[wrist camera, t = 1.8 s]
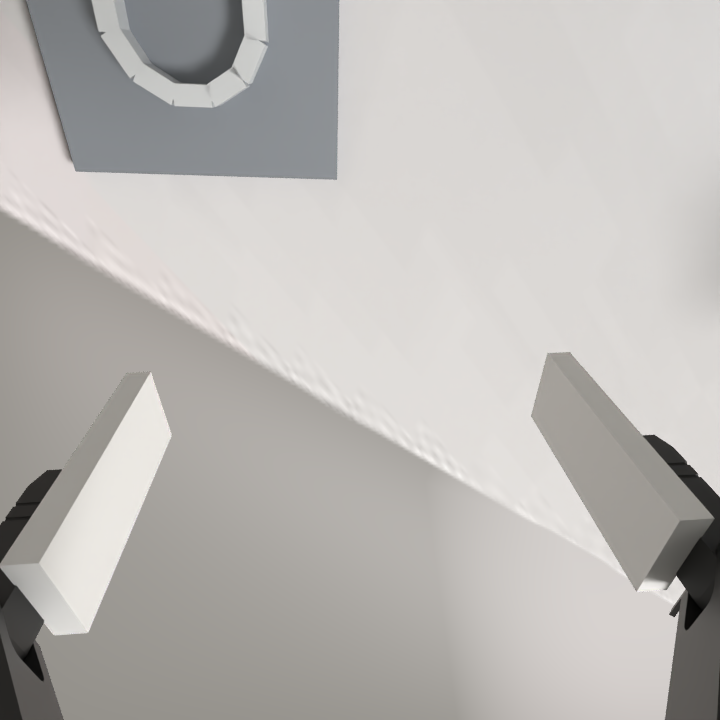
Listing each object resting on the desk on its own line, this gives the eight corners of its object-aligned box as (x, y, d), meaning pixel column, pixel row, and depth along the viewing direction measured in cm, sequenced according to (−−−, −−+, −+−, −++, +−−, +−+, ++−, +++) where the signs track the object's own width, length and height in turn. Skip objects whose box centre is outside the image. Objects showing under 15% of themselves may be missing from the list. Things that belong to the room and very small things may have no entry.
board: (-27, -228, 22) (-70, -264, 19) (341, -192, 23) (342, -222, 21) (83, 168, 31) (64, 176, 29) (336, 176, 33) (337, 184, 30)
